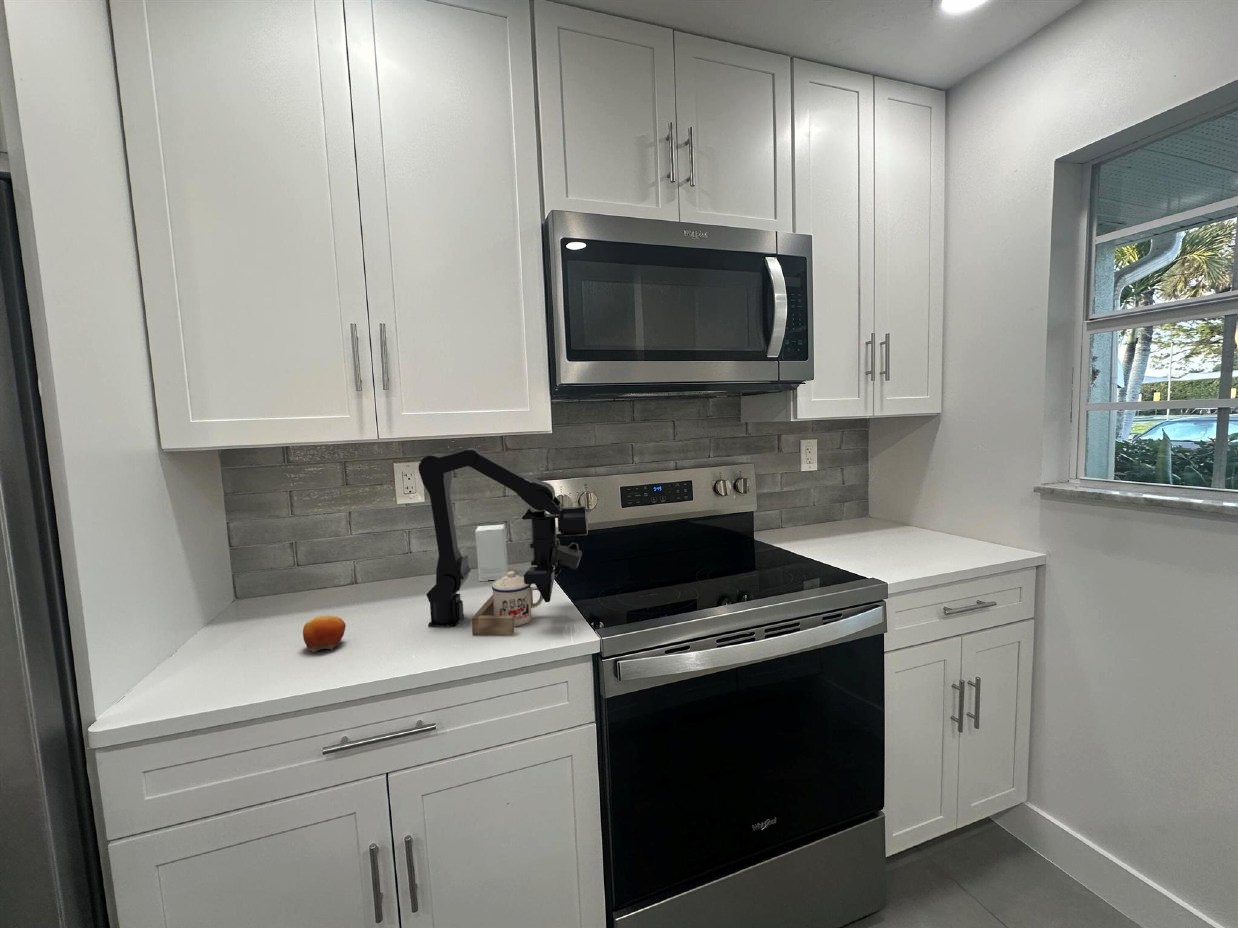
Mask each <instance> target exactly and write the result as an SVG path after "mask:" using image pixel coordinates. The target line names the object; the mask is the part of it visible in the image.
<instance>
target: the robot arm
mask: <svg viewBox="0 0 1238 928" xmlns="http://www.w3.org/2000/svg"><path fill="white" fill-rule="evenodd" d="M466 467H470V468H471V469H473V470H475V471H477V472H479V473H481V474H483V475H484V476H486V477H488V478H490V480H494V481H495V482H497V483H498V484H501V485H502V486H504V487H505V488H507V489H509V490H512V491H513V492H514V493H515V494H516V495H518V496H519V497H520V498H521V500H522V501H523V502H525V503H527V504H528V505H529V506H530V507H529V508H527V510H526V512H525V513H524V514H523V515H522V516H521V519H522V520H523V521H524V520H530V528H531V529H530V530H531V531H530V532H531V542H530V543H529V548H530V549H532V560H531V561H530V564H531V565H530V566H531V567H529V568H528V570H527V571H525V573H524V574H523V577H524V583H525V584H531V585H535V587H537V588H538V590H539V591H538V590H537V591H538V592H539V595H540V594H541V595H542V597H543V602H545V603H550V602H551V598H552V593H553V587H554V582H555V580H556V578H557V577H558V575H559V574H560V572H561V570H562V569H561V568H560V567H556V566H557V565H558V564H559V565H563V566H566V567H569V568H570V569H571V570H576V569H577V568H578V566H579V564H580V561H581V557H582V555H583V552H582V550H581V549H580V548H579V544H578V543H576V542H572V543H570V545H568V546H567V545H561V544H560V543H561V542H560V539H559V538H557V530H558V533H560V534H561V535H562V534H563V535H562V536H563V537H572V536H573V537H575V536H588V535H589V534H588V533H589V532H588V531H589V530H588V529H589V528H588V527H589V526H588V517H587V511H586V510H587V508H586V505H578V506H570V507H569V506H568V507H567V506H566V507H565V506H564V504H563V503H562V502H561V501H560V500H559V498H557V496H556V491H555V488H554V486H553V485H552V484H550V483H548V482H546V481H543V480H540V479H537V478H534V477H530V476H527V475H523V474H521V473H519V472H518V471H516V470H514V469H512V468H511V467H508V466H506V465H504V464H503V463H501V462H499V461H498V460H496V459H494V458H492V457H490V456H489V455H486V454H485V453H483V452H482V451H480V450H479V449H478V448H475V447H470V448H466V449H464V450H463V451H459V452H456V453H452V454H448V455H446V454H443V453H436V454H432V455H427V456H425V457H423V458H422V459H421V460H420V462H419V463H418V468H417V469H418V473H419V475H420V479H421V481H422V484H423V486H424V488H425V490H426V492H427V493H428V496H429V498H430V504H431V505H430V506H431V513H432V519H433V520H432V521H433V525H434V533H435V539H436V544H437V551H438V557H437V563H436V568H435V569H436V570H435V584H434V586H433V587H431V588H430V590H429V591H428V592H427V593H426V595H425V596H426V597H427V600H428V602H429V606H430V607H429V610H430V621H429V622H428V624H427V626H428V627H455V626H457V625H458V624H459V622H460V621H462V620H463V618H465V614H464V602H463V600H462V598H461V593H458V592H459V591H460V590H461V587H462V586H463V585H464V583H466V581H467V580H468V578H469V574H470V573H471V571H472V570H471V568H470V565H469V555H464V556H463V555H462V554H461V552H460V550H459V546H458V539H457V533H456V532H457V531H456V526H455V519H454V513H453V506H452V499H451V492H450V491H451V485H452V479H453V471H456V470H459V469H462V468H466ZM533 509H534V510H533ZM556 519H557V523H556Z"/></svg>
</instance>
